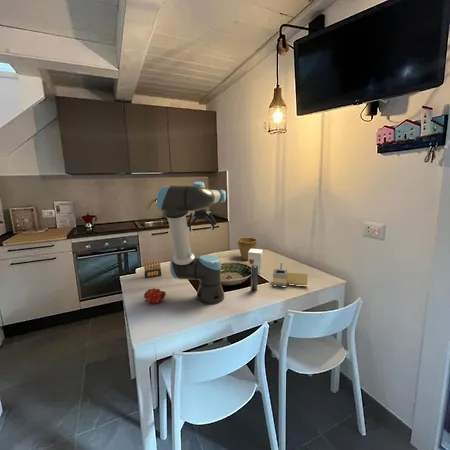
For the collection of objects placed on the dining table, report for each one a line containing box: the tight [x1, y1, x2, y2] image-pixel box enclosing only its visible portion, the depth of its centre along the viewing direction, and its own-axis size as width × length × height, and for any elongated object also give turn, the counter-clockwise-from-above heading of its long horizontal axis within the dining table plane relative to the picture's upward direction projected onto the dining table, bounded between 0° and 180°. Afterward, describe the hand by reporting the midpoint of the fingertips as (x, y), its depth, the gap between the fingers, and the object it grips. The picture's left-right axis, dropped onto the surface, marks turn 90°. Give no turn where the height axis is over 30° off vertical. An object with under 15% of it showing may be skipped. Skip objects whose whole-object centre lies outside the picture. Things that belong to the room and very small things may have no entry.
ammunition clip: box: [143, 258, 162, 279], centre depth 176 cm, size 11×2×12 cm, turn 115°
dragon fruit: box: [143, 287, 167, 305], centre depth 142 cm, size 8×8×12 cm
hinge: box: [272, 263, 308, 287], centre depth 169 cm, size 20×20×8 cm
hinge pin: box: [250, 265, 259, 292], centre depth 155 cm, size 4×4×15 cm
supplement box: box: [247, 248, 264, 275], centre depth 185 cm, size 9×9×15 cm
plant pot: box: [237, 237, 258, 262], centre depth 210 cm, size 15×15×16 cm
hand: (202, 234), depth 184 cm, fingers open, 13 cm apart
